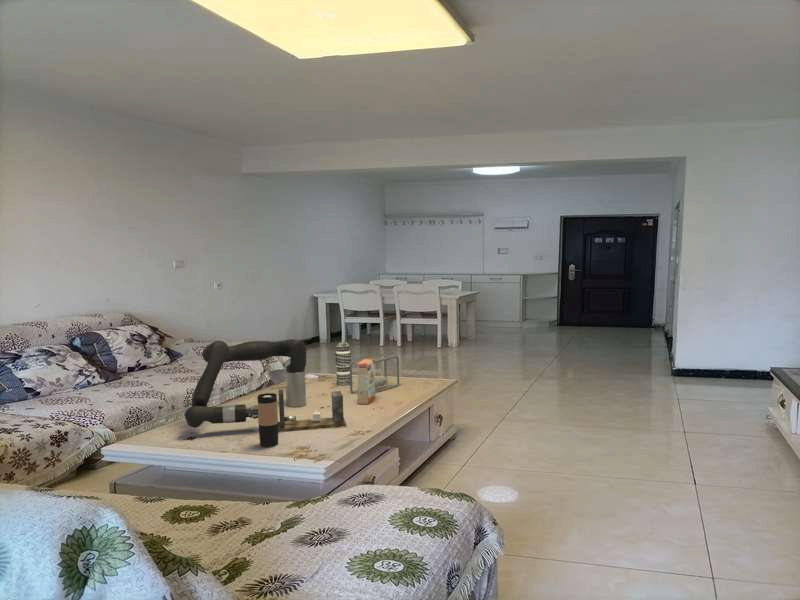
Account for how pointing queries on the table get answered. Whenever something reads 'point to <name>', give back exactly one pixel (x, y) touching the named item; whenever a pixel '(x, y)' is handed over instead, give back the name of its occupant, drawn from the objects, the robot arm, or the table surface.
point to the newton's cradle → (380, 380)
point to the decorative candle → (343, 364)
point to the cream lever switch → (316, 416)
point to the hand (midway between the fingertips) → (275, 410)
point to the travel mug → (268, 419)
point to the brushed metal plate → (281, 410)
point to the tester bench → (308, 424)
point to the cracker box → (366, 381)
